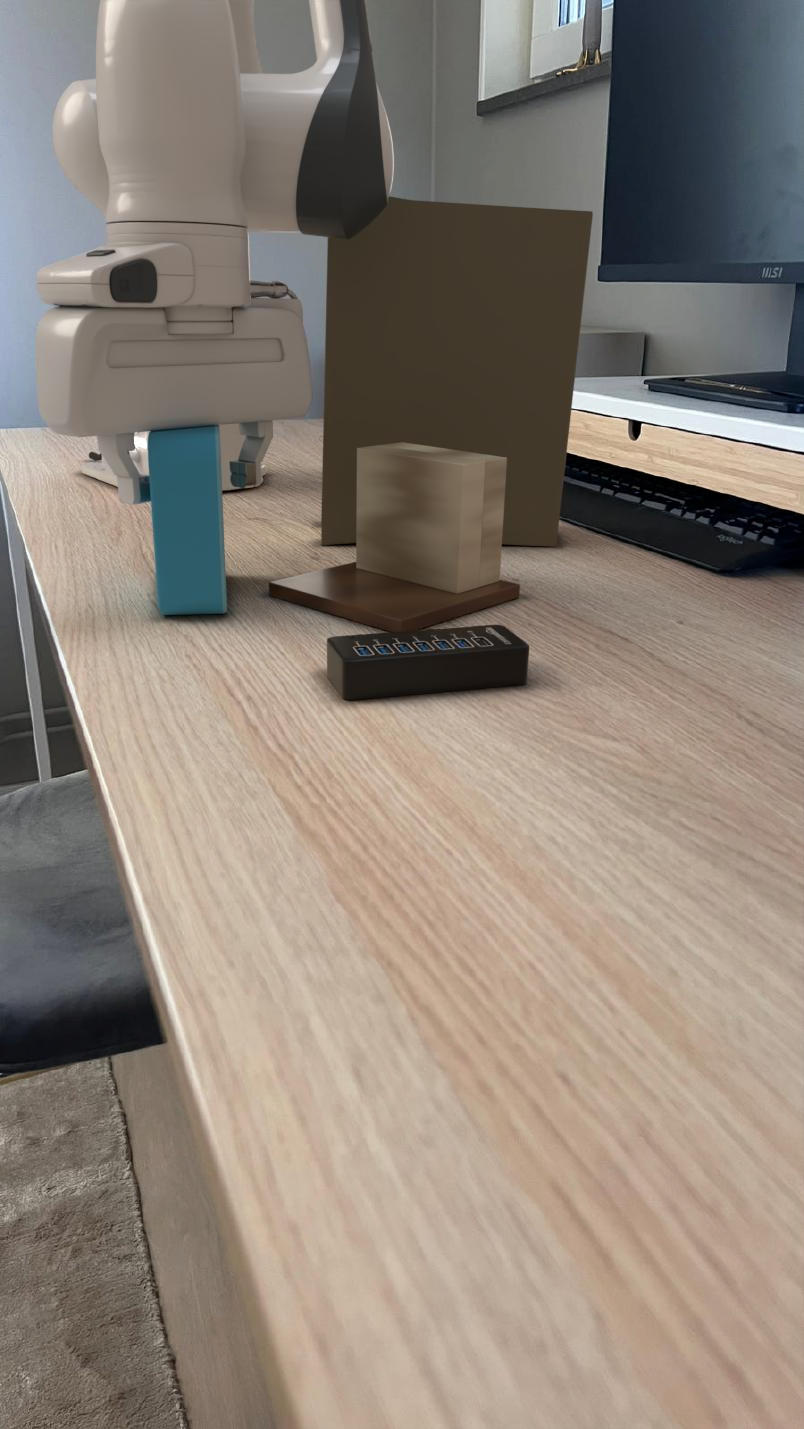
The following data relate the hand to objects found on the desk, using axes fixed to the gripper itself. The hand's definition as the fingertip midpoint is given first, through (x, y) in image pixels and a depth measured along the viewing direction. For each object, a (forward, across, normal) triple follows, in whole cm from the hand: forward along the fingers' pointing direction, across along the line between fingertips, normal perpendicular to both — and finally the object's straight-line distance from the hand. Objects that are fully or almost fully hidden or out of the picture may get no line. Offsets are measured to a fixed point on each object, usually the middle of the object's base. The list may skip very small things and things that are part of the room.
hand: (193, 494), depth 71 cm
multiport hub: (+8, +1, +22) cm, 24 cm away
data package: (+8, 0, 0) cm, 8 cm away
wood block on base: (+7, -10, +10) cm, 16 cm away
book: (+7, -29, -1) cm, 30 cm away
